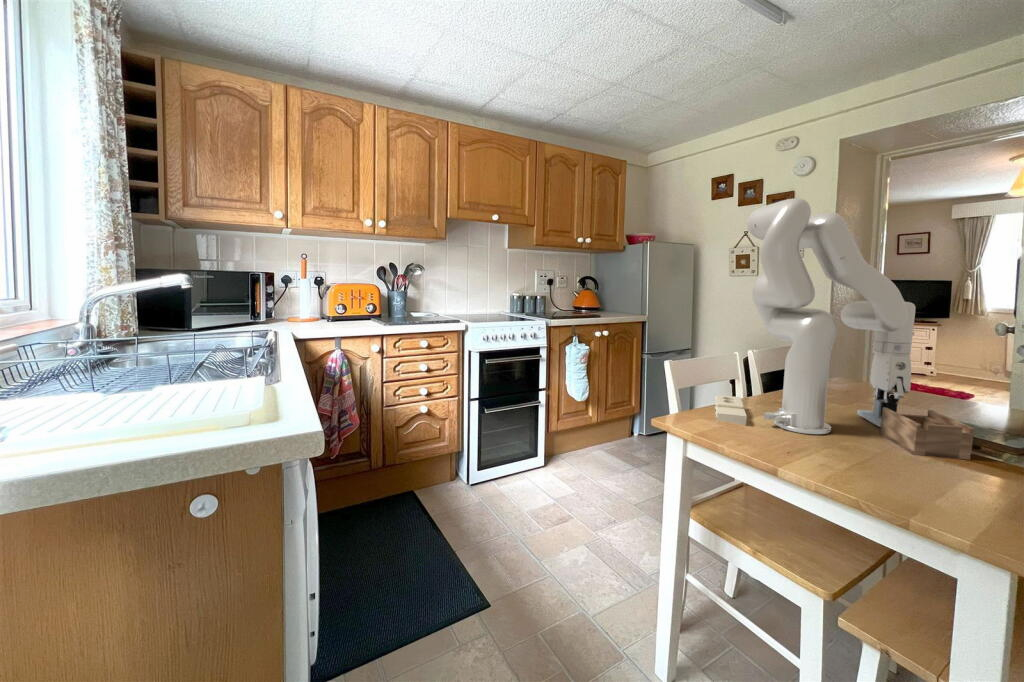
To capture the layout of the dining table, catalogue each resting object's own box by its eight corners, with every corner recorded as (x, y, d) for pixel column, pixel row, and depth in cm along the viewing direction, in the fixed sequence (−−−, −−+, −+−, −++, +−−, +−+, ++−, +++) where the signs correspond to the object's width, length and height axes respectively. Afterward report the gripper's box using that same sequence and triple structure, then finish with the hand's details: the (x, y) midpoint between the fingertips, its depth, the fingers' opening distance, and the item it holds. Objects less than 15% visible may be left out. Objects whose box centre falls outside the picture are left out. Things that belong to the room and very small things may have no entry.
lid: (913, 429, 109) (916, 407, 108) (879, 427, 111) (882, 405, 110) (887, 415, 120) (889, 396, 120) (857, 413, 122) (859, 394, 122)
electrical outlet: (717, 409, 118) (715, 394, 134) (716, 424, 118) (714, 407, 135) (746, 412, 115) (741, 396, 131) (745, 427, 116) (740, 409, 132)
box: (970, 459, 92) (974, 428, 91) (913, 454, 95) (917, 424, 94) (928, 437, 106) (931, 410, 105) (879, 433, 108) (882, 407, 108)
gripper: (928, 353, 104) (920, 426, 107) (891, 344, 120) (884, 408, 122) (891, 352, 107) (884, 423, 109) (859, 343, 122) (853, 406, 124)
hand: (884, 414), depth 116 cm, fingers closed on lid, 2 cm apart
